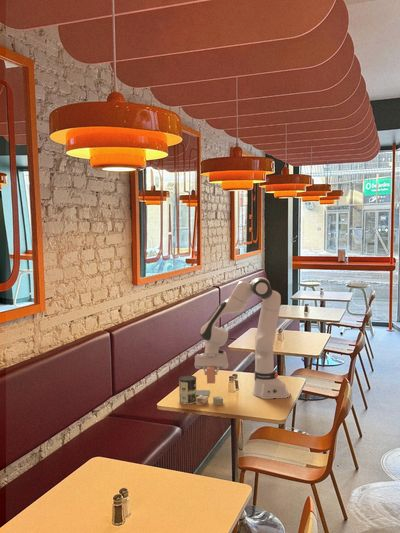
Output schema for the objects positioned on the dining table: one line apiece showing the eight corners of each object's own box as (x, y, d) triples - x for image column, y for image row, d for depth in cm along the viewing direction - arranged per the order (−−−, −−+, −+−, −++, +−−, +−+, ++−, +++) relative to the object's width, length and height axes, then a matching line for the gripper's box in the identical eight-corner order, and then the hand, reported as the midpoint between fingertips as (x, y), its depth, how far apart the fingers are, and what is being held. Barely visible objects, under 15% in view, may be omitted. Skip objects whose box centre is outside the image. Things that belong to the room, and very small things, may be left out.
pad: (210, 391, 306) (210, 390, 306) (208, 396, 297) (208, 395, 297) (195, 391, 307) (195, 390, 307) (193, 396, 298) (193, 395, 298)
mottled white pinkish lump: (208, 402, 287) (208, 396, 287) (204, 405, 283) (204, 399, 283) (200, 401, 289) (200, 395, 289) (196, 404, 285) (196, 397, 285)
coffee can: (196, 398, 295) (196, 375, 294) (196, 404, 285) (196, 380, 284) (179, 398, 295) (179, 375, 294) (178, 404, 285) (178, 380, 284)
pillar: (215, 381, 295) (214, 366, 294) (214, 383, 290) (214, 368, 289) (207, 381, 295) (207, 366, 294) (207, 383, 291) (206, 368, 290)
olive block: (221, 401, 289) (221, 396, 289) (223, 404, 284) (223, 398, 284) (213, 402, 288) (213, 396, 288) (214, 405, 283) (214, 399, 283)
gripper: (194, 351, 299) (192, 372, 290) (227, 351, 297) (227, 371, 288) (195, 356, 304) (194, 377, 295) (228, 356, 302) (228, 376, 293)
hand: (210, 374), depth 292 cm, fingers closed on pillar, 4 cm apart
